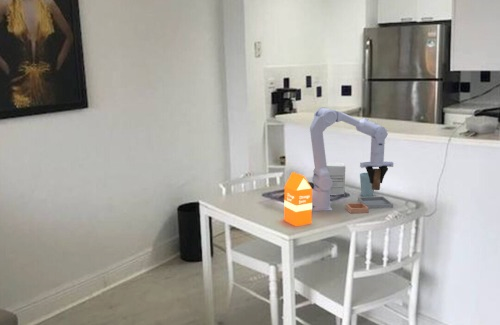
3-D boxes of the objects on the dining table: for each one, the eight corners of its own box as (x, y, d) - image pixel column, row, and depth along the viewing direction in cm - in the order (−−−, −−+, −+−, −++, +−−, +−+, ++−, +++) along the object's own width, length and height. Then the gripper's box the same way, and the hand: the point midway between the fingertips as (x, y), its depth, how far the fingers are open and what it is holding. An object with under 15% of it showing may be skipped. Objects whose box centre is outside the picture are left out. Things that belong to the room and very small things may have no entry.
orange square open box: (350, 214, 221) (350, 208, 220) (345, 209, 228) (345, 203, 228) (368, 214, 221) (368, 208, 221) (362, 208, 229) (362, 202, 228)
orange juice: (299, 217, 218) (300, 170, 213) (311, 223, 210) (312, 175, 206) (283, 220, 214) (284, 172, 210) (295, 226, 206) (296, 177, 202)
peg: (372, 190, 230) (373, 170, 228) (370, 188, 234) (371, 168, 232) (380, 190, 230) (381, 170, 228) (378, 188, 234) (379, 168, 232)
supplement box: (323, 191, 257) (324, 161, 254) (341, 191, 257) (342, 161, 254) (325, 196, 248) (326, 165, 245) (344, 196, 248) (345, 165, 245)
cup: (378, 196, 248) (379, 175, 245) (365, 198, 245) (366, 176, 242) (369, 192, 254) (369, 171, 252) (356, 194, 251) (356, 173, 249)
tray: (366, 209, 227) (366, 204, 227) (357, 201, 239) (357, 197, 239) (392, 208, 229) (393, 203, 228) (382, 201, 240) (383, 196, 240)
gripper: (364, 155, 224) (362, 185, 227) (396, 154, 226) (395, 184, 228) (359, 151, 231) (357, 181, 234) (390, 151, 232) (389, 180, 235)
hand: (375, 182), depth 232 cm, fingers closed on peg, 4 cm apart
